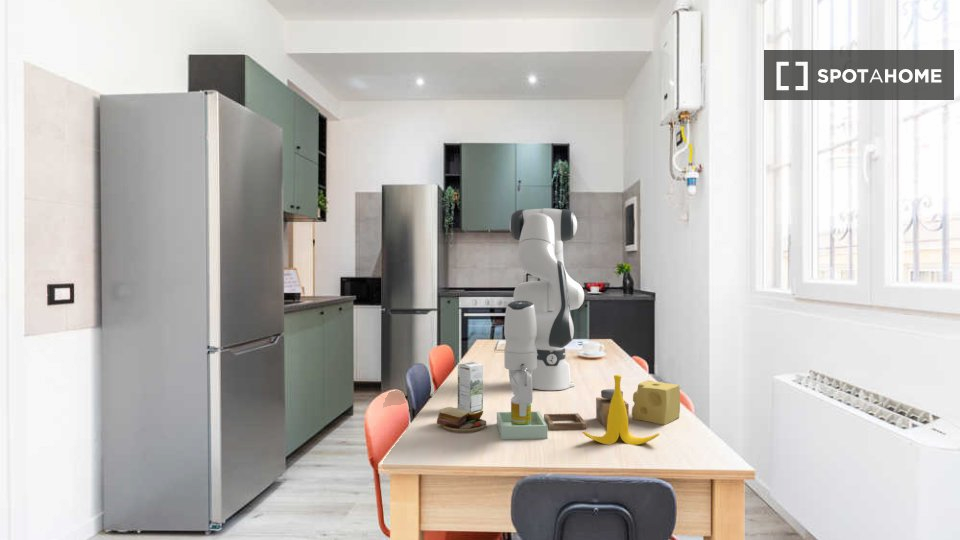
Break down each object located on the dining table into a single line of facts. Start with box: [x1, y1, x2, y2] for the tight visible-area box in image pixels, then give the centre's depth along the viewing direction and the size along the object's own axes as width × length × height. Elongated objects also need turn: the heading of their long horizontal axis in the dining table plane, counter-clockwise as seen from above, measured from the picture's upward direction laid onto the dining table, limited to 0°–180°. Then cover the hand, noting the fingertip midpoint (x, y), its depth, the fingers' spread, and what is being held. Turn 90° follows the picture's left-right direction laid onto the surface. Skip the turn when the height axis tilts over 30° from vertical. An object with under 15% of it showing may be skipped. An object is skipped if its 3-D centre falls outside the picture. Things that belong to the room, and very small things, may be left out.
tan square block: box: [595, 388, 630, 427], centre depth 155 cm, size 8×7×9 cm
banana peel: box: [581, 374, 661, 446], centre depth 138 cm, size 16×19×17 cm
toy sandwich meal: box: [436, 406, 487, 434], centre depth 152 cm, size 12×14×5 cm
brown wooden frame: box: [543, 412, 588, 431], centre depth 153 cm, size 10×10×2 cm
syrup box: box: [457, 361, 484, 413], centre depth 168 cm, size 6×6×14 cm
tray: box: [496, 410, 548, 441], centre depth 147 cm, size 14×12×3 cm
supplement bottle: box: [510, 390, 532, 426], centre depth 147 cm, size 5×5×10 cm
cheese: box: [631, 380, 681, 426], centre depth 158 cm, size 10×11×10 cm
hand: (521, 412), depth 147 cm, fingers closed on supplement bottle, 5 cm apart
